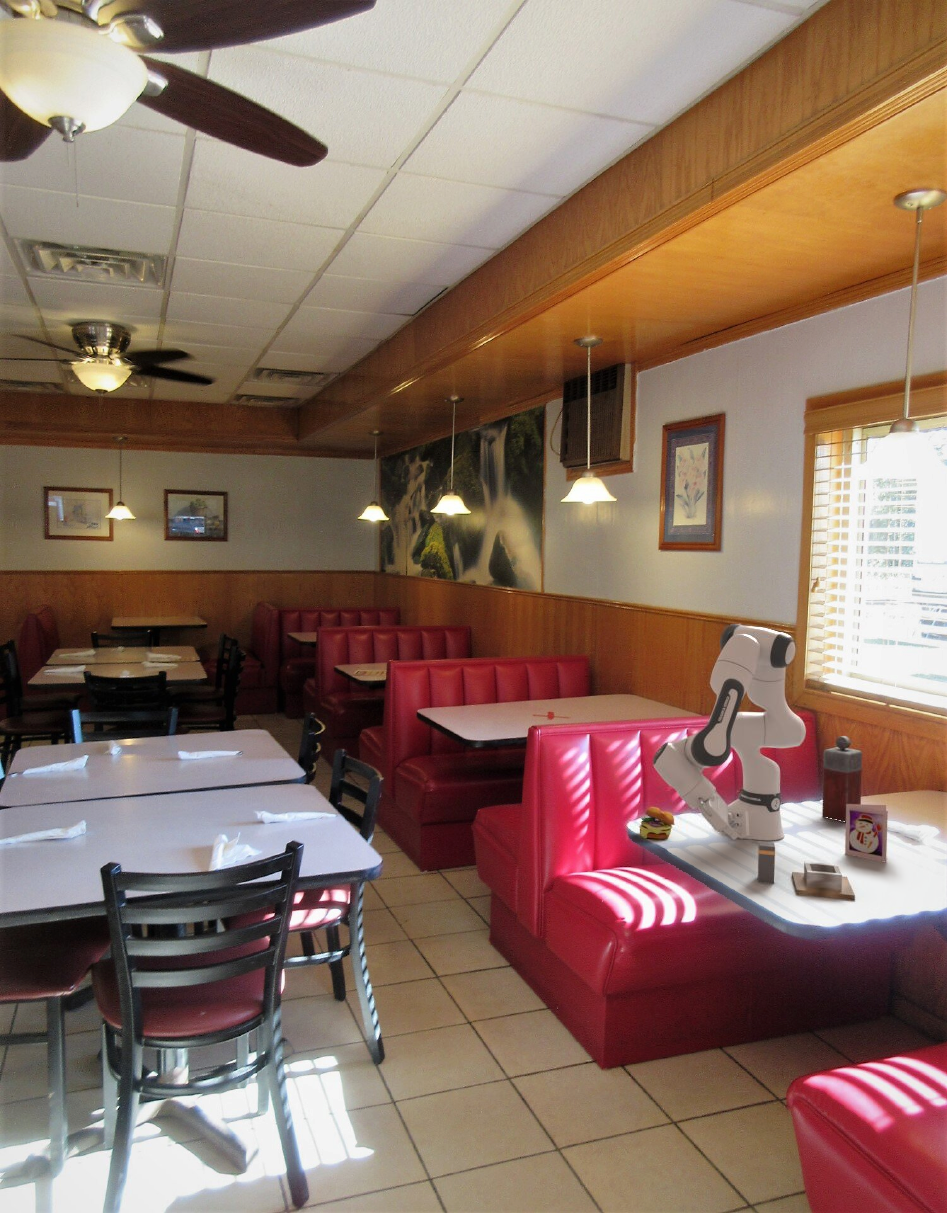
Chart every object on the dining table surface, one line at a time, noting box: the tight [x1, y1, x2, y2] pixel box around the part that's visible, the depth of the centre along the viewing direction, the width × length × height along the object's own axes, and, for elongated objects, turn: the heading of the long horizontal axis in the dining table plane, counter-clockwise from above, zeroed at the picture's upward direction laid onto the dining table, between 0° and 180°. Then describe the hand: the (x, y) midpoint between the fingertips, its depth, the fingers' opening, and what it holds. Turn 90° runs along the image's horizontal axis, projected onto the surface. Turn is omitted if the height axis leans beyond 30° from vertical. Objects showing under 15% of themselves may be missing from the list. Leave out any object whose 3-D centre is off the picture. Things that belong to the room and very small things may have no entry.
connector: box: [757, 840, 776, 885], centre depth 236 cm, size 4×4×10 cm
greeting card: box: [844, 803, 889, 863], centre depth 257 cm, size 11×7×15 cm, turn 51°
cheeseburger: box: [639, 806, 676, 840], centre depth 276 cm, size 10×11×10 cm
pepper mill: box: [821, 735, 863, 822], centre depth 297 cm, size 9×11×28 cm
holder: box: [791, 861, 856, 901], centre depth 231 cm, size 14×14×5 cm
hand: (736, 832), depth 238 cm, fingers open, 8 cm apart
